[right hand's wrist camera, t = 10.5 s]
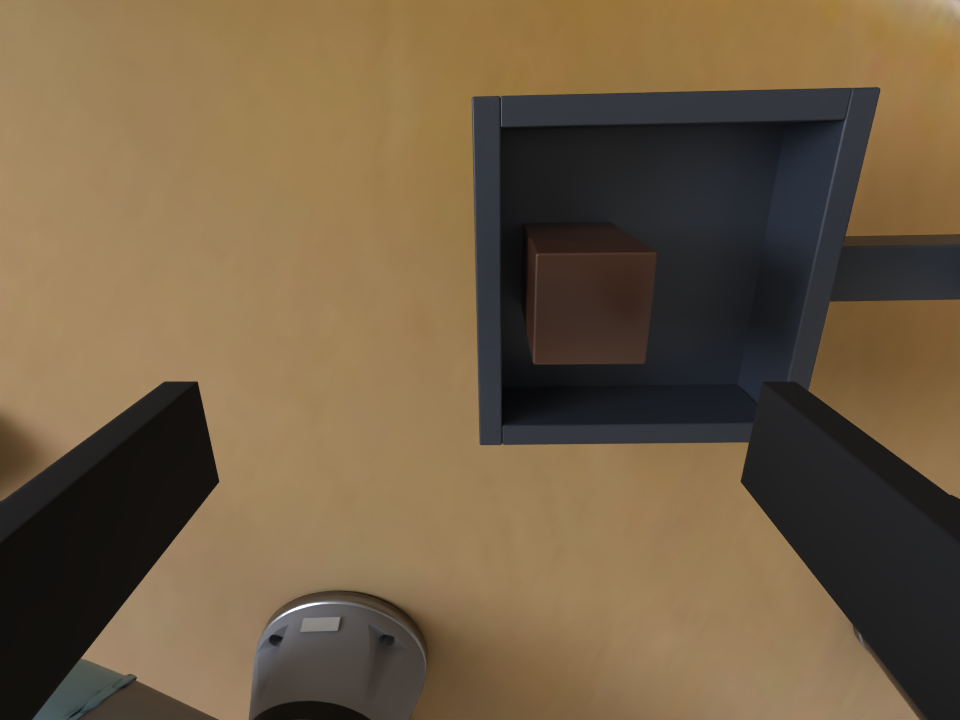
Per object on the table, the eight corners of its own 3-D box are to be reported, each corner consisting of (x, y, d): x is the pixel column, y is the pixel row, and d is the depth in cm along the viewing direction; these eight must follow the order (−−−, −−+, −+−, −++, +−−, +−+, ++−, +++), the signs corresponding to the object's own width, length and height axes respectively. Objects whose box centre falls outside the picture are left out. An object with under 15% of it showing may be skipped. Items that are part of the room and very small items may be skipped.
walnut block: (605, 307, 25) (645, 364, 19) (521, 308, 25) (533, 365, 19) (611, 221, 24) (658, 251, 17) (522, 222, 24) (535, 252, 17)
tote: (1097, 91, 22) (1438, 62, 14) (982, 393, 27) (1183, 494, 19) (474, 105, 22) (467, 85, 15) (480, 399, 28) (478, 500, 20)
